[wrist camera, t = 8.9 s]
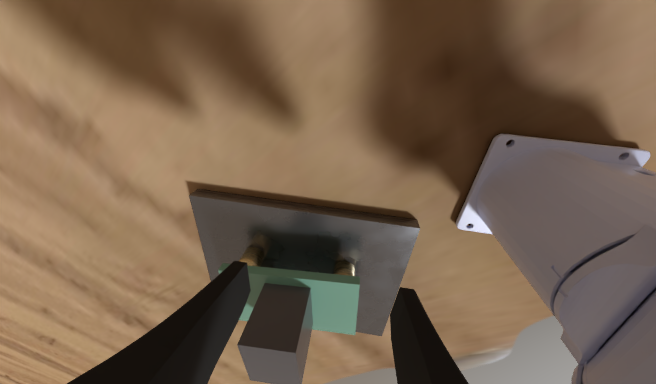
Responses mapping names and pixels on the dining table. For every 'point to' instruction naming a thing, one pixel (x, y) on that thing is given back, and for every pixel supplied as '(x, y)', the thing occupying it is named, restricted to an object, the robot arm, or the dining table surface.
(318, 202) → the dining table surface
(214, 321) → the robot arm
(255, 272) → the board
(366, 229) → the plate
